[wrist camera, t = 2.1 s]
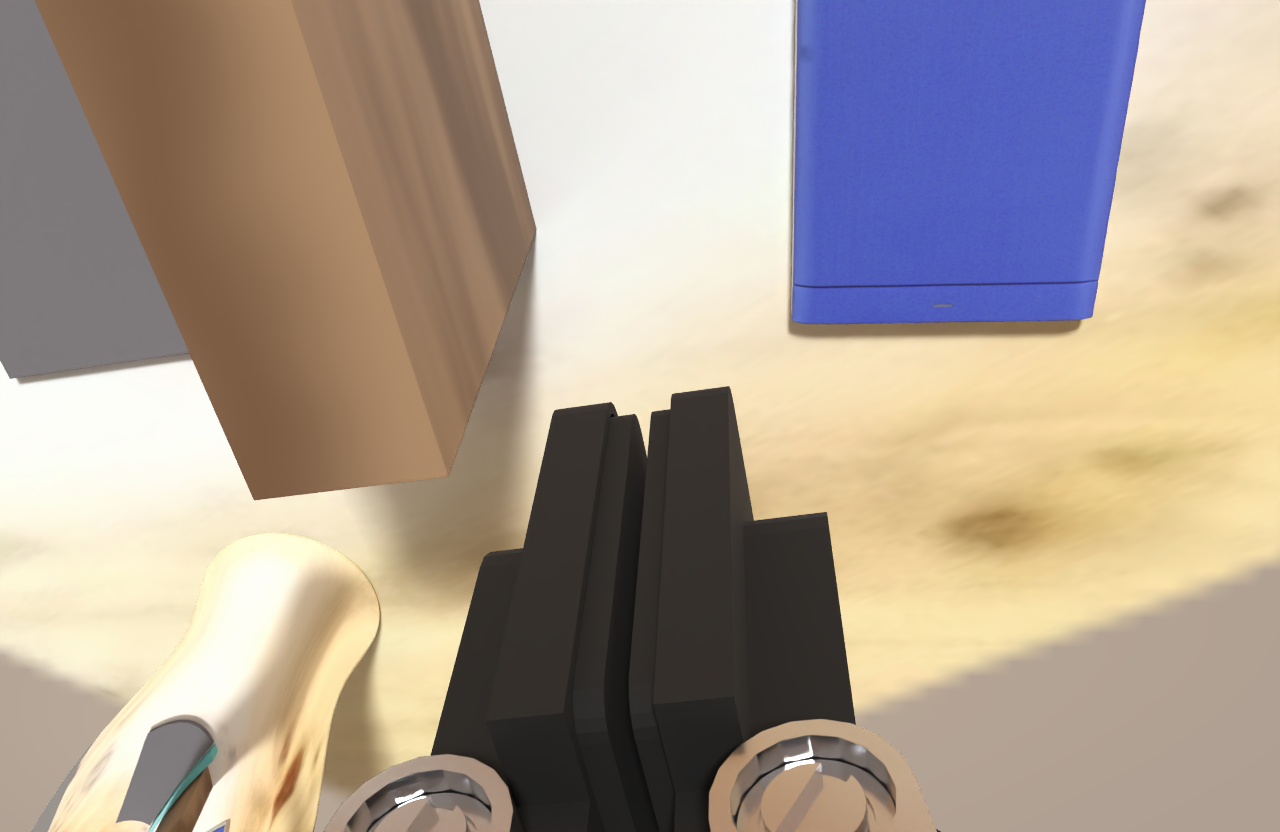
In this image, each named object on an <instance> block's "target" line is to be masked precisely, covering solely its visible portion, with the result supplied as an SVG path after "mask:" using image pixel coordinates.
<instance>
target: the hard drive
mask: <svg viewBox="0 0 1280 832" xmlns="http://www.w3.org/2000/svg"><path fill="white" fill-rule="evenodd" d="M1145 3H1146V0H796V16H795V89H794V161H793V233H792V295H791V312H792V320H793V322H798V323H805V324H862V323H869V324H873V323H923V322H993V321H1056V320H1081V319H1086V318H1091V317H1092V315H1093V309H1094V303H1095V299H1096V293H1097V287H1098V279H1099V274H1100V269H1101V263H1102V257H1103V251H1104V244H1105V238H1106V233H1107V226H1108V220H1109V214H1110V209H1111V204H1112V198H1113V192H1114V186H1115V180H1116V172H1117V166H1118V161H1119V155H1120V149H1121V143H1122V137H1123V131H1124V126H1125V120H1126V114H1127V108H1128V102H1129V97H1130V91H1131V86H1132V80H1133V75H1134V68H1135V62H1136V57H1137V52H1138V45H1139V37H1140V31H1141V25H1142V20H1143V15H1144V8H1145Z"/></svg>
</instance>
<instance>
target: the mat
mask: <svg viewBox="0 0 1280 832" xmlns="http://www.w3.org/2000/svg"><path fill="white" fill-rule="evenodd" d="M185 353H189V351H188V349H187V346H186V344H185V342H184V339H183V337H182V335H181V333H180V330H179V328H178V326H177V323H176V321H175V319H174V317H173V314H172V312H171V310H170V308H169V305H168V303H167V301H166V298H165V296H164V294H163V292H162V289H161V287H160V285H159V282H158V280H157V278H156V276H155V273H154V271H153V269H152V266H151V264H150V262H149V260H148V257H147V255H146V253H145V251H144V248H143V246H142V244H141V241H140V239H139V237H138V235H137V232H136V230H135V228H134V225H133V223H132V221H131V219H130V216H129V214H128V212H127V209H126V207H125V205H124V203H123V200H122V198H121V196H120V194H119V191H118V189H117V187H116V184H115V182H114V180H113V178H112V175H111V173H110V171H109V168H108V166H107V164H106V162H105V159H104V157H103V155H102V152H101V150H100V148H99V146H98V143H97V141H96V139H95V137H94V134H93V132H92V130H91V127H90V125H89V123H88V121H87V118H86V116H85V114H84V111H83V109H82V107H81V105H80V102H79V100H78V98H77V96H76V93H75V91H74V89H73V86H72V84H71V82H70V80H69V77H68V75H67V73H66V70H65V68H64V66H63V64H62V61H61V59H60V57H59V54H58V52H57V50H56V48H55V45H54V43H53V41H52V39H51V36H50V34H49V32H48V29H47V27H46V25H45V23H44V20H43V18H42V16H41V13H40V11H39V9H38V7H37V4H36V2H35V0H0V361H1V363H2V365H3V366H4V368H5V370H6V372H7V374H8V376H9V378H10V379H11V378H18V377H25V376H32V375H39V374H46V373H53V372H60V371H67V370H74V369H81V368H88V367H95V366H102V365H108V364H115V363H122V362H129V361H136V360H143V359H150V358H157V357H164V356H171V355H178V354H185Z"/></svg>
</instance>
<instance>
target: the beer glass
mask: <svg viewBox="0 0 1280 832" xmlns="http://www.w3.org/2000/svg"><path fill="white" fill-rule="evenodd" d="M379 619H380V611H379V604H378V600H377V597H376V594H375V592H374V589H373V588H372V586H371V584H370V582H369V581H368V579H367V578H366V576H365V575H364V574H363V573H362V571H361V570H360V569H359V568H358V567H357V566H356V565H355V564H354V563H353V562H352V561H350V560H349V559H348V558H347V557H345V556H344V555H342V554H341V553H339V552H338V551H336V550H335V549H333V548H331V547H329V546H327V545H325V544H323V543H320V542H318V541H315V540H313V539H310V538H306V537H302V536H298V535H293V534H286V533H262V534H256V535H251V536H247V537H244V538H241V539H239V540H236V541H234V542H233V543H231V544H229V545H228V546H226V547H225V548H224V549H222V550H221V551H220V552H219V553H218V554H217V555H216V556H215V557H214V559H213V560H212V561H211V563H210V564H209V566H208V568H207V570H206V573H205V575H204V578H203V581H202V584H201V588H200V592H199V595H198V599H197V603H196V606H195V610H194V613H193V616H192V619H191V621H190V624H189V626H188V628H187V630H186V632H185V634H184V635H183V637H182V639H181V640H180V642H179V643H178V645H177V646H176V648H175V649H174V651H173V652H172V653H171V655H170V656H169V657H168V658H167V659H166V661H165V662H164V663H163V664H162V665H161V666H160V668H159V669H158V670H157V671H156V672H155V673H154V675H153V676H152V677H151V678H150V679H149V680H148V681H147V682H146V683H145V684H144V685H143V687H142V688H141V689H140V690H139V691H138V692H137V693H136V694H135V695H134V696H133V697H132V699H131V700H130V701H129V702H128V703H127V704H126V705H125V706H124V707H123V709H122V710H121V711H120V712H119V713H118V714H117V715H116V716H115V717H114V719H113V720H112V721H111V722H110V723H109V724H108V725H107V726H106V728H105V729H104V730H103V731H102V732H101V733H100V734H99V736H98V737H97V738H96V739H95V741H94V742H93V743H92V744H91V746H90V747H89V748H88V749H87V751H86V752H85V753H84V754H83V756H82V757H81V758H80V759H79V761H78V762H77V763H76V764H75V766H74V767H73V768H72V769H71V771H70V772H69V773H68V774H67V776H66V778H65V779H64V781H63V782H62V784H61V785H60V787H59V788H58V790H57V791H56V793H55V795H54V796H53V797H52V799H51V800H50V802H49V803H48V805H47V806H46V808H45V810H44V811H43V813H42V814H41V816H40V817H39V819H38V821H37V823H36V825H35V826H34V828H33V830H32V831H31V832H313V831H314V827H315V822H316V818H317V811H318V805H319V799H320V793H321V787H322V780H323V774H324V767H325V760H326V753H327V746H328V740H329V734H330V729H331V723H332V718H333V715H334V711H335V708H336V707H337V706H336V705H337V701H338V699H339V696H340V694H341V692H342V689H343V687H344V685H345V683H346V682H347V680H348V678H349V677H350V675H351V674H352V672H353V671H354V669H355V668H356V666H357V665H358V664H359V662H360V661H361V659H362V658H363V656H364V655H365V654H366V652H367V651H368V649H369V647H370V646H371V644H372V642H373V640H374V638H375V636H376V634H377V631H378V627H379Z"/></svg>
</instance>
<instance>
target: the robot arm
mask: <svg viewBox="0 0 1280 832" xmlns="http://www.w3.org/2000/svg"><path fill="white" fill-rule="evenodd" d="M324 832H940V831H938V830H937V829H936V828H935V825H934V823H933V820H932V818H931V815H930V812H929V810H928V808H927V805H926V802H925V799H924V797H923V794H922V792H921V789H920V786H919V784H918V781H917V779H916V776H915V775H914V773H913V771H912V770H911V768H910V766H909V765H908V763H907V762H906V760H905V758H904V757H903V755H902V753H900V752H899V751H898V750H897V749H895V748H894V747H893V746H892V745H891V744H889V743H888V742H887V741H886V740H885V739H883V738H882V737H881V736H880V735H878V734H876V733H873V732H871V731H868V730H866V729H864V728H861V727H859V726H857V725H856V723H855V716H854V708H853V701H852V694H851V686H850V679H849V672H848V664H847V657H846V649H845V642H844V635H843V627H842V620H841V613H840V605H839V598H838V590H837V583H836V576H835V568H834V561H833V554H832V546H831V539H830V532H829V524H828V517H827V512H823V513H815V514H806V515H798V516H790V517H781V518H773V519H764V520H756V521H754V519H753V513H752V507H751V501H750V496H749V490H748V484H747V478H746V473H745V467H744V461H743V455H742V450H741V444H740V438H739V432H738V426H737V421H736V415H735V409H734V404H733V398H732V394H731V390H730V387H729V386H727V387H720V388H712V389H705V390H697V391H690V392H683V393H675V394H672V397H671V409H670V410H662V411H655V412H652V414H651V421H650V433H649V445H648V457H647V455H646V451H645V446H644V442H643V437H642V433H641V429H640V425H639V421H638V419H637V416H636V415H635V414H632V415H625V416H618V415H617V412H616V409H615V407H614V405H613V404H612V402H609V403H602V404H595V405H587V406H580V407H573V408H565V409H558V410H555V411H554V413H553V415H552V419H551V424H550V429H549V433H548V438H547V442H546V447H545V451H544V456H543V460H542V465H541V470H540V474H539V479H538V483H537V488H536V492H535V497H534V502H533V506H532V511H531V515H530V520H529V524H528V529H527V533H526V538H525V543H524V547H523V548H521V549H513V550H505V551H496V552H490V553H488V554H487V555H486V556H485V557H484V559H483V562H482V564H481V567H480V570H479V574H478V577H477V581H476V585H475V589H474V593H473V596H472V600H471V604H470V608H469V612H468V615H467V619H466V623H465V627H464V631H463V634H462V638H461V642H460V646H459V650H458V653H457V657H456V661H455V665H454V669H453V672H452V676H451V680H450V684H449V688H448V691H447V695H446V699H445V703H444V707H443V710H442V714H441V718H440V722H439V726H438V729H437V733H436V737H435V741H434V745H433V749H432V752H431V756H424V757H418V758H415V759H412V760H409V761H406V762H403V763H401V764H398V765H395V766H392V767H390V768H388V769H387V770H385V771H383V772H382V773H380V774H378V775H376V776H375V777H373V778H371V779H370V780H368V781H366V782H365V783H364V784H362V785H361V786H360V787H359V788H358V789H357V790H356V791H355V792H354V793H353V794H352V795H351V796H349V797H348V798H347V799H346V800H345V801H344V802H343V803H342V804H341V806H340V807H339V808H338V810H337V811H336V813H335V815H334V816H333V817H332V819H331V820H330V822H329V823H328V825H327V826H326V828H325V830H324Z"/></svg>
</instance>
